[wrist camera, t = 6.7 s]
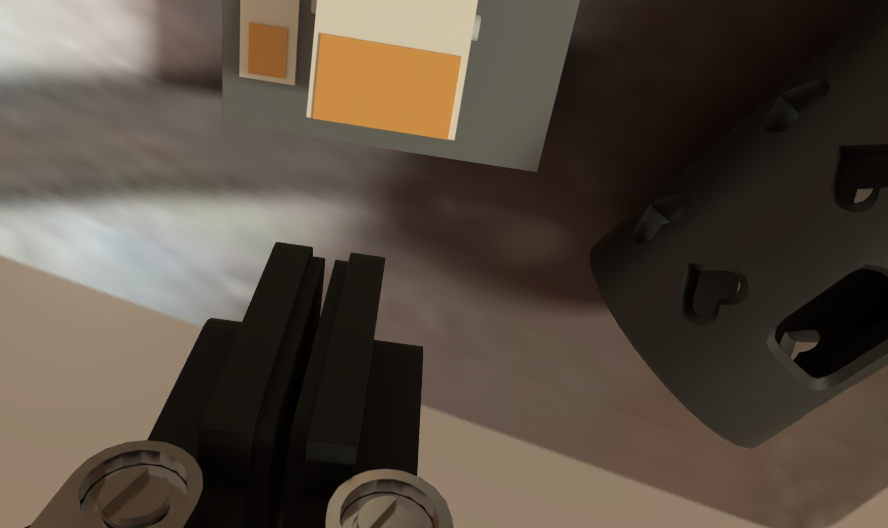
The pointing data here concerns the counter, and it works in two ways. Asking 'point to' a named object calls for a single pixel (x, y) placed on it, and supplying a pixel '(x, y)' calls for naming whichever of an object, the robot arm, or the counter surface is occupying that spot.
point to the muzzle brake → (768, 252)
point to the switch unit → (476, 140)
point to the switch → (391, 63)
